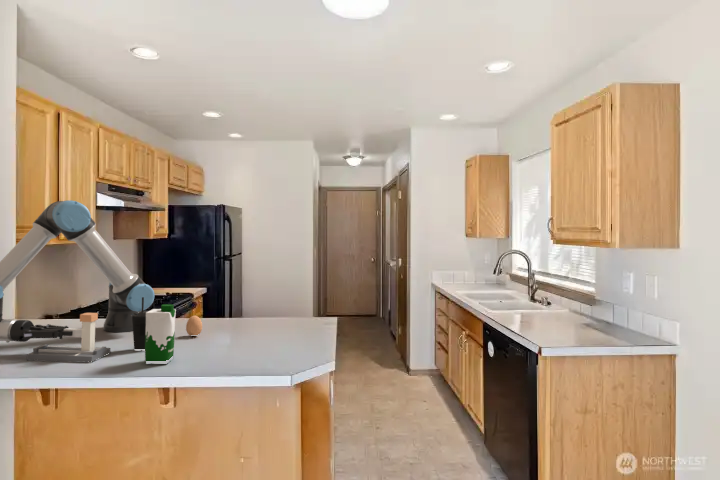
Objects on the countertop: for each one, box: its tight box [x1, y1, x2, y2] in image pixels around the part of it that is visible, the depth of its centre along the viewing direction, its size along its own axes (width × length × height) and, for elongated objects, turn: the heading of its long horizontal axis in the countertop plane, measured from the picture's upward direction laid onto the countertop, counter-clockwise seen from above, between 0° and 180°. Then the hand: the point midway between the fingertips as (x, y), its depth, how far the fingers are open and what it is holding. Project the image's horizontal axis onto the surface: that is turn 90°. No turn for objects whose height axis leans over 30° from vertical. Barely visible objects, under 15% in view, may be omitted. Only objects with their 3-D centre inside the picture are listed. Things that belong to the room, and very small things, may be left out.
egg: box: [185, 315, 203, 336], centre depth 202 cm, size 7×7×9 cm
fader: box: [79, 312, 99, 351], centre depth 165 cm, size 4×4×13 cm
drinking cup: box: [131, 297, 149, 350], centre depth 178 cm, size 8×8×20 cm
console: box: [26, 343, 111, 363], centre depth 166 cm, size 22×12×3 cm, turn 90°
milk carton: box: [144, 303, 177, 362], centre depth 163 cm, size 9×9×20 cm
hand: (83, 333), depth 165 cm, fingers closed
